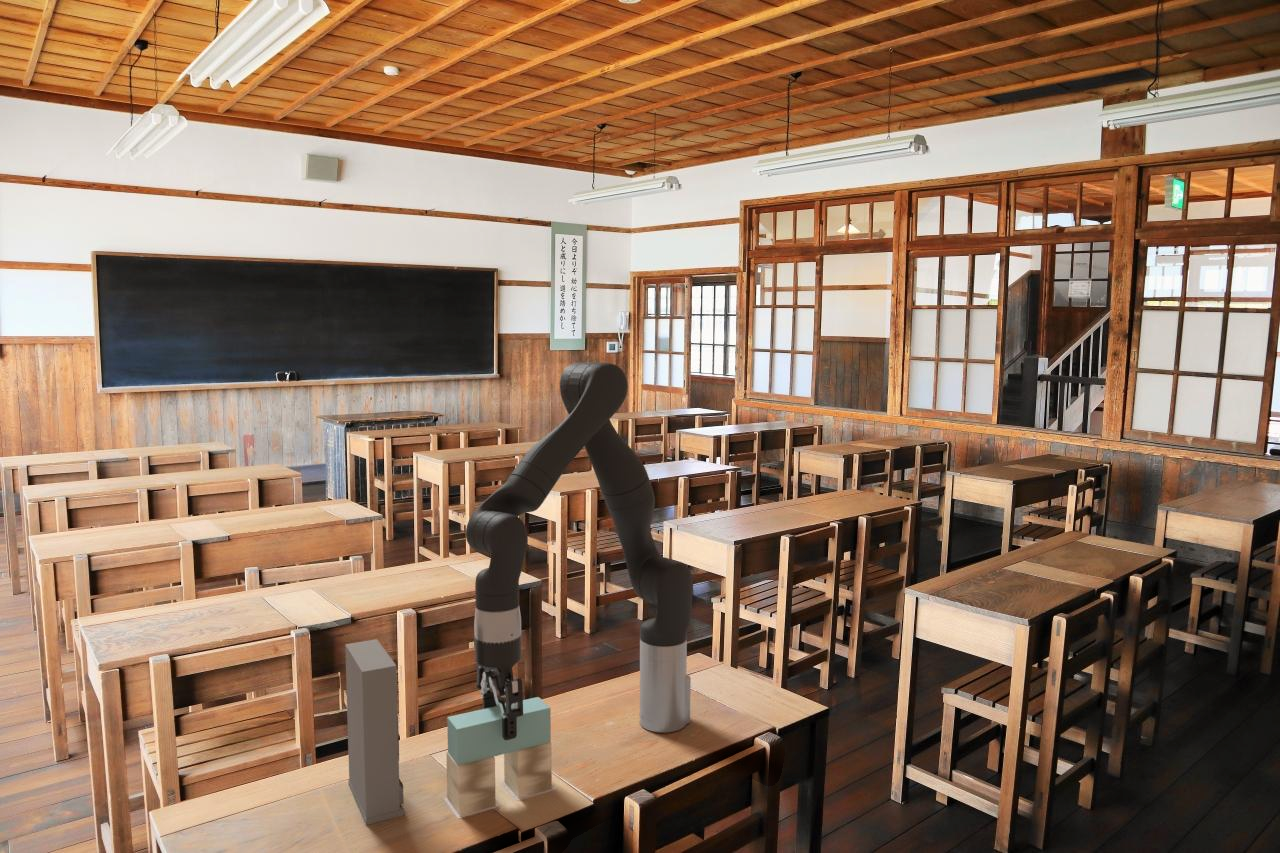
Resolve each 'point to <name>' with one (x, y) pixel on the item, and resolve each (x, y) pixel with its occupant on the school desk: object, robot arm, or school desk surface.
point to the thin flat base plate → (496, 802)
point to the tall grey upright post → (373, 731)
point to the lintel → (496, 732)
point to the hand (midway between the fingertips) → (499, 728)
